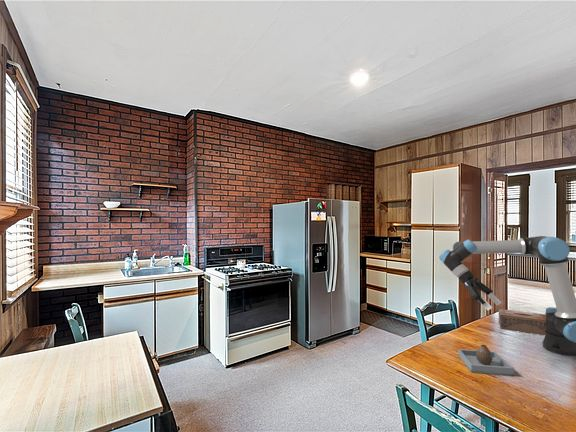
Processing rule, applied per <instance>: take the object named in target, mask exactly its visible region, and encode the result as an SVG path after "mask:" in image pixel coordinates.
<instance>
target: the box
mask: <svg viewBox="0 0 576 432" xmlns="http://www.w3.org/2000/svg"><path fill="white" fill-rule="evenodd" d="M476 351H477V349H475V350H473V349H460V348H459V349H457V356H458V357H459V359H460V360H461V361H462V362H463V364H464V365H465V366H466V368H467V369H468V370H469V371H470V373H473V374H474V373H475V374H485V375H496V376H497V375H499V376H507V377H508V376H512V377H515V368H514V367H513V366H512V365H511V364H509V363H508V362H507V361H506V360H505V359H504V358H503V357H502V356H500V354H498V353H497V352H496V351H491V350H490V352H491V353H492V362H491V363H490V364H489V365H484V364H481V363H480V362H479V361H478V360H477V358H476Z"/></svg>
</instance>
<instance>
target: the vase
mask: <svg viewBox="0 0 576 432" xmlns="http://www.w3.org/2000/svg"><path fill="white" fill-rule="evenodd" d="M476 350H477V351H476V358H477V360H478V361H479V362H480V363H481V364H484V365H489V364H490V363H491V362H492V353H491V352H492V351H491V350H490V349H489V348H488V346H487V345H486V344H480V346H479V347H478V348H477V349H476ZM490 351H491V352H490Z"/></svg>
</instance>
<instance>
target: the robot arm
mask: <svg viewBox="0 0 576 432" xmlns="http://www.w3.org/2000/svg"><path fill="white" fill-rule="evenodd" d="M570 252H571V249H570V246H569V244H568V243H567V242H566V241H564V240H563V239H561V238H558V237H555V236H544V235H539V236H532V237H520V238H518V239H509V240H508V239H507V240H481V241H478V240H477V241H472V240H471V239H466V240H464V241H455V242H454V243H453V245H452V250H449V249H446V250H444V251H442V252H441V253H440V254H439V256H438V257H439V260H440V261H441V263H442V264H443V265H444V266H446V267H447V268H448V270H449V271H451V273H452V274H453V276H455V277H456V278H458V280H459V281H460V282H461V283H462V284H463V286H464V287H466V289H467V291H468V292H469V294H470V295H471V297H472V298H473V300H474V301H478V302H479V303H480V304H481V305H482V306H483V307H484V308H485V309H486V310H487V311H490V310H491V309H493V308H494V307H493V306H492V305H491V304H490V303H489V302H488V301H487V300H486V299H485V298H484V297H483V296H481V294H480V292H479V291H481V292H483V293H484V294H486V295H487V297H488V298H489V299H490V300H491V301H492V302H493V303H494V304H495V305H496V306H499V305H501V304H502V301H501V300H500V299H499V298H498V297H497V296H496V295H495V294H494V293H493V292H494V290H492V289H491V288H490V287H489V286H487V285H486V284H485V283H483V282H482V281H480V280H479V279H478V277H477V278H474V277H475V275H474V273H473V272H472V271H471V270H469V268H468V267H467V266H466V265H465V264H464V263H462V261H464V260H465V259H467V258H468V257H469V256H471V255H479V254H480V255H482V254H483V255H485V254H486V255H487V254H488V255H489V254H521V255H523V256H524V255H526V256H528V255H529V256H536V257H537V259H538V262H539V264H540V265H541V266H543V267H544V270H545V273H546V277H547V280H548V283H549V287H550V290H551V291H550V292H551V293H552V297H553V301H554V304H555V307H554V306H553V307H546V308H545V313H544V314H546V335H545V336H544V338H543V341H542V348H544V349H545V350H547V351H548V352H551V353H554V354H555V353H556V354H559V355H563V356H570V357H571V356H572V357H573V356H574V357H575V356H576V294H575V291H574V287H573V284H572V281H571V278H570V274H569V271H568V268H567V264H568V263H569V257H568V256H569V254H570Z"/></svg>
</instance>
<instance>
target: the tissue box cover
mask: <svg viewBox="0 0 576 432" xmlns="http://www.w3.org/2000/svg"><path fill="white" fill-rule="evenodd" d="M498 323H499V327H500V330H503V331H511V332H517V331H519V332H518V333H524V332H525V333H526V334H531V333H532V334H531V335H537V334H539V336H544V335H546V314H545V313H535V312H526V311H519V310H510V309H501V308H498Z"/></svg>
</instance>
